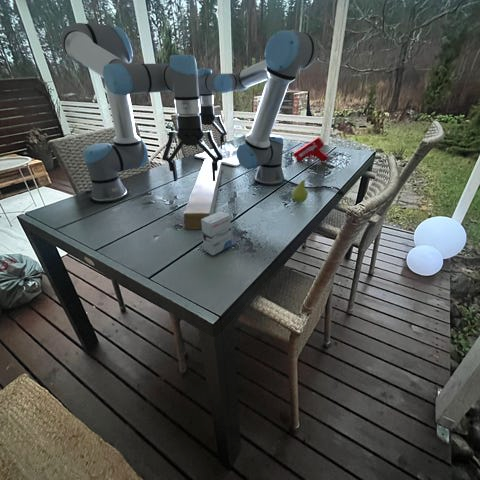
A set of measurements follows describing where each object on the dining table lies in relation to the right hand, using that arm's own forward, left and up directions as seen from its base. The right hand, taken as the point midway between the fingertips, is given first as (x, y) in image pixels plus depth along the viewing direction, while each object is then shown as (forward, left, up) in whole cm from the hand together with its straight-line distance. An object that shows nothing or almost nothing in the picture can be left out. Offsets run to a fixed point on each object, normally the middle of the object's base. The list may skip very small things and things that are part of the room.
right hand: (209, 148), depth 148 cm
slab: (-10, +27, -14) cm, 32 cm away
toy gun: (-52, -39, -14) cm, 66 cm away
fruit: (-54, +24, -14) cm, 60 cm away
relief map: (+2, -34, -14) cm, 37 cm away
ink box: (-33, +69, -14) cm, 78 cm away
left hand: (-19, +56, +4) cm, 59 cm away
